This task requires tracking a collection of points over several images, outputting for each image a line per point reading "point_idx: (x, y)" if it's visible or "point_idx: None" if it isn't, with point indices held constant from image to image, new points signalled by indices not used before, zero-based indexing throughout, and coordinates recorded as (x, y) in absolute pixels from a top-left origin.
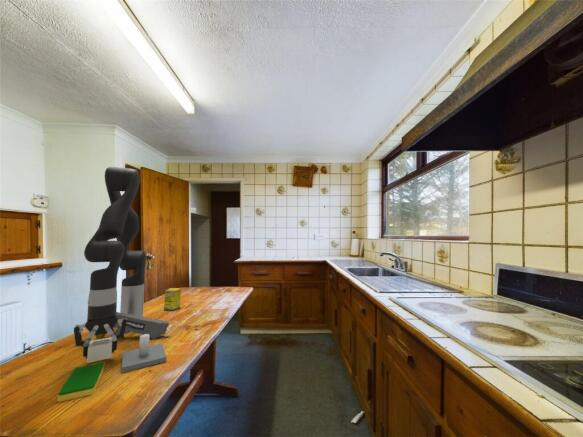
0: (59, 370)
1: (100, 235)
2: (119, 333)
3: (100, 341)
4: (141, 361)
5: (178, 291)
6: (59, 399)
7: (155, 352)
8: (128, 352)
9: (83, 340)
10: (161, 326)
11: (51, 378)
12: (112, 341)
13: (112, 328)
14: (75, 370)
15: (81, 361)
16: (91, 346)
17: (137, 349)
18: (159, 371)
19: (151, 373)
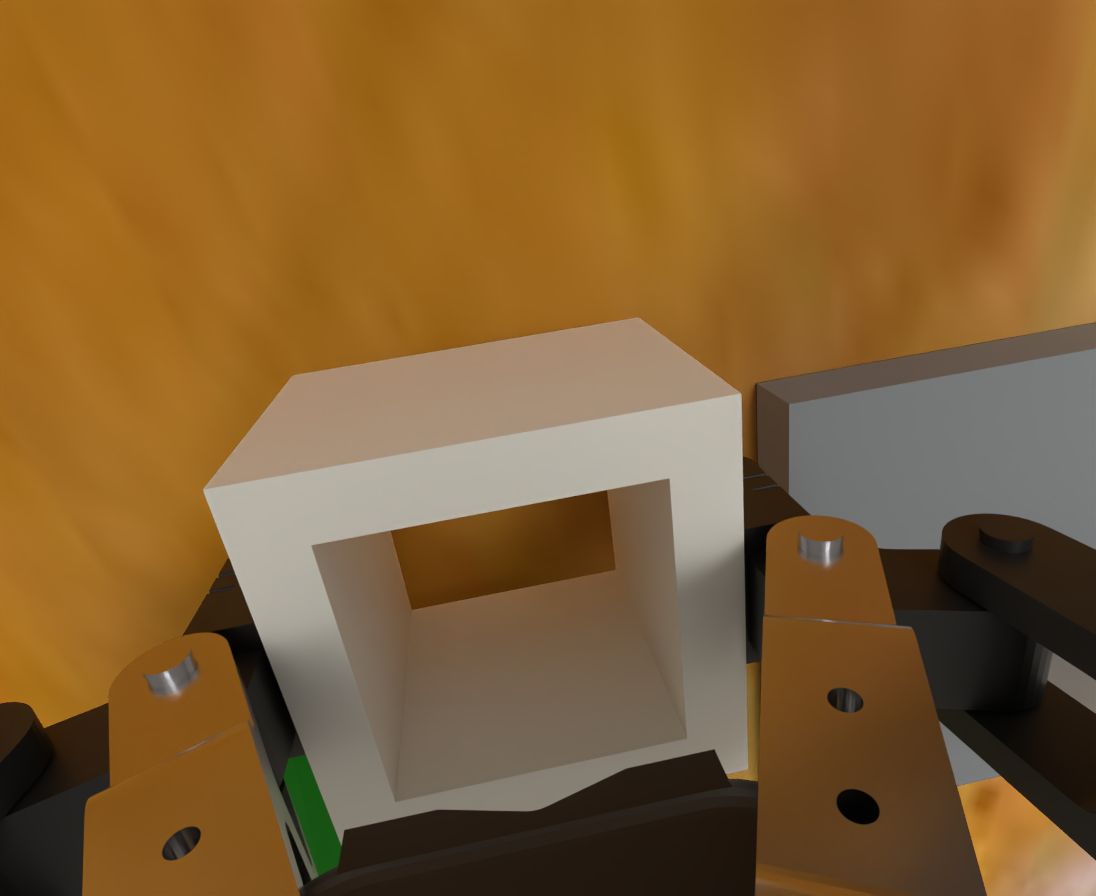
0: (7, 524)
1: None
2: (972, 617)
3: (470, 501)
4: (969, 755)
5: None
6: None
7: None
8: (867, 469)
9: (82, 796)
10: None
11: (52, 699)
12: (747, 643)
13: (911, 756)
14: (320, 818)
15: (190, 323)
16: (383, 794)
17: (989, 406)
18: (1041, 826)
19: (982, 839)
